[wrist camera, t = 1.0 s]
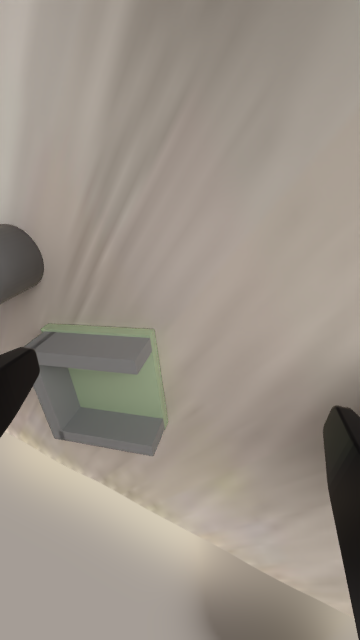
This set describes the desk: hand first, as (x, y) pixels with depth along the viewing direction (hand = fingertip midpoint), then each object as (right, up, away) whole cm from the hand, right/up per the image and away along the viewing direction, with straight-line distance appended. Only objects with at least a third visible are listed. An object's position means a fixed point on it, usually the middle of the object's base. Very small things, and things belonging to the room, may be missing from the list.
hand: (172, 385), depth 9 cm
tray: (-6, -3, +18) cm, 19 cm away
